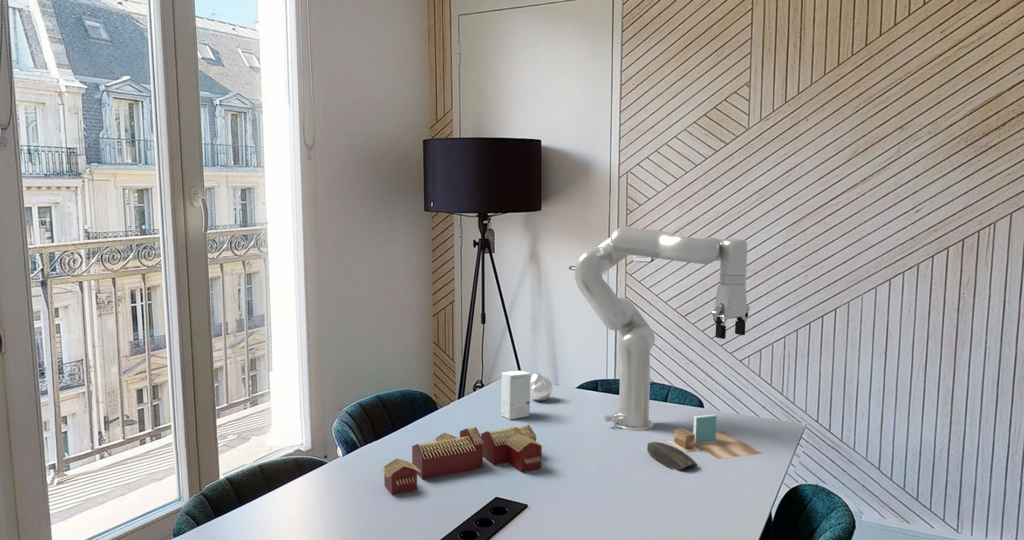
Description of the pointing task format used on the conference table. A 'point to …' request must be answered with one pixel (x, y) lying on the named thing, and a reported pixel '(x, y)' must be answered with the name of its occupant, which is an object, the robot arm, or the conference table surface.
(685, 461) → the decorative stone
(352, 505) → the conference table surface
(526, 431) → the toy houses
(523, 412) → the skincare box
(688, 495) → the conference table surface
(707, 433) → the tile
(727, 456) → the cork mat
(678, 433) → the wooden float
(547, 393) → the ghost figurine
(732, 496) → the conference table surface
